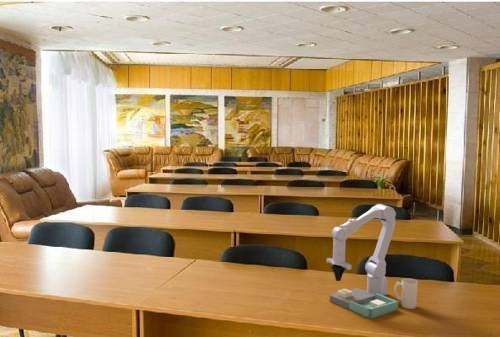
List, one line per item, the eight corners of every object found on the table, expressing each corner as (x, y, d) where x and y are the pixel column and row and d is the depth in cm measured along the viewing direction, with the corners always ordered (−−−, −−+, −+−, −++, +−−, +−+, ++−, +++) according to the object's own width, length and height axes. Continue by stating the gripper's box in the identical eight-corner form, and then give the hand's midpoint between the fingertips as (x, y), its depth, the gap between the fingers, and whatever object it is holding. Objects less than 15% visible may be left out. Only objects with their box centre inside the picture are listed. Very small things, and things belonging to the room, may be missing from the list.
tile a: (385, 302, 213) (385, 306, 213) (377, 299, 217) (377, 303, 217) (378, 304, 210) (378, 309, 210) (369, 301, 214) (369, 305, 215)
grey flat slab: (356, 293, 232) (357, 288, 232) (375, 301, 222) (376, 295, 222) (329, 301, 222) (330, 295, 222) (348, 309, 212) (348, 303, 212)
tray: (376, 301, 222) (376, 293, 221) (397, 310, 212) (398, 301, 211) (349, 309, 212) (349, 301, 211) (370, 319, 202) (370, 309, 201)
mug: (416, 304, 218) (417, 279, 217) (416, 309, 212) (417, 283, 211) (393, 301, 222) (394, 276, 221) (393, 307, 215) (394, 281, 214)
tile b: (344, 292, 225) (344, 288, 225) (352, 295, 221) (352, 291, 221) (336, 294, 222) (337, 290, 222) (344, 298, 218) (344, 293, 218)
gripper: (322, 250, 228) (321, 277, 229) (344, 257, 216) (343, 286, 218) (332, 248, 232) (332, 275, 233) (355, 255, 220) (354, 283, 222)
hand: (338, 280), depth 226 cm, fingers closed
